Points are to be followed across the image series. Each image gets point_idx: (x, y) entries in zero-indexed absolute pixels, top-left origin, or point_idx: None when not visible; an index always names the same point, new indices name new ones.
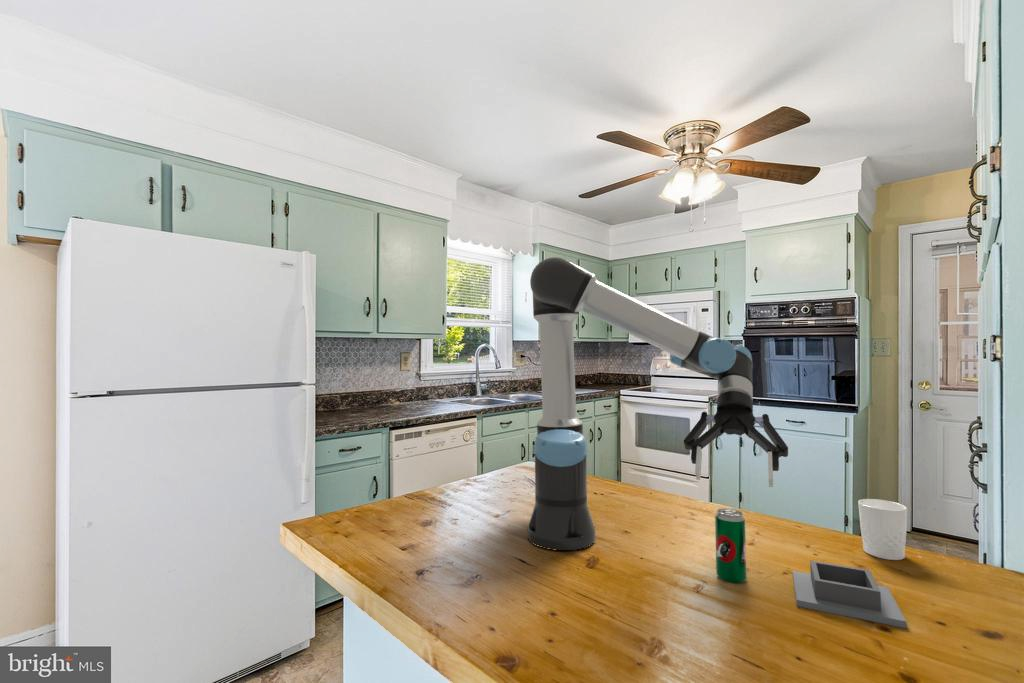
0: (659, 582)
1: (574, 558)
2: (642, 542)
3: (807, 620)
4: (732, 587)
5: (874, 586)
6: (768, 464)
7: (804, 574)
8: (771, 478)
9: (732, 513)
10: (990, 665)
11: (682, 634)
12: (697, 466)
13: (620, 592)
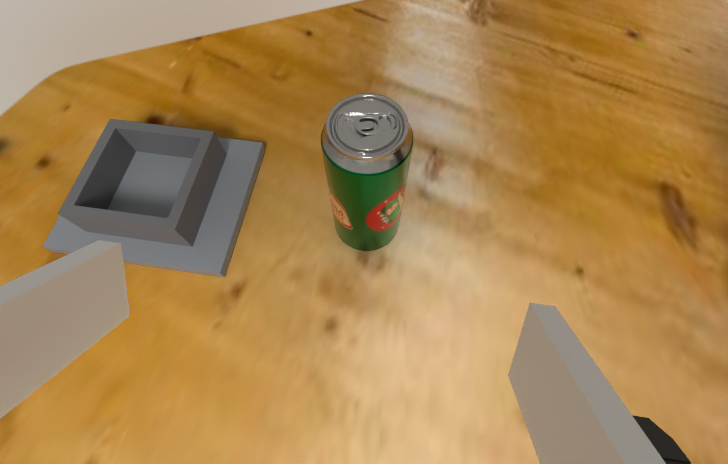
0: (508, 164)
1: (725, 219)
2: None
3: (264, 113)
4: None
5: (106, 136)
6: (17, 296)
7: (200, 258)
8: (101, 243)
9: (359, 117)
10: (70, 77)
11: (448, 38)
12: (560, 333)
13: (565, 111)
